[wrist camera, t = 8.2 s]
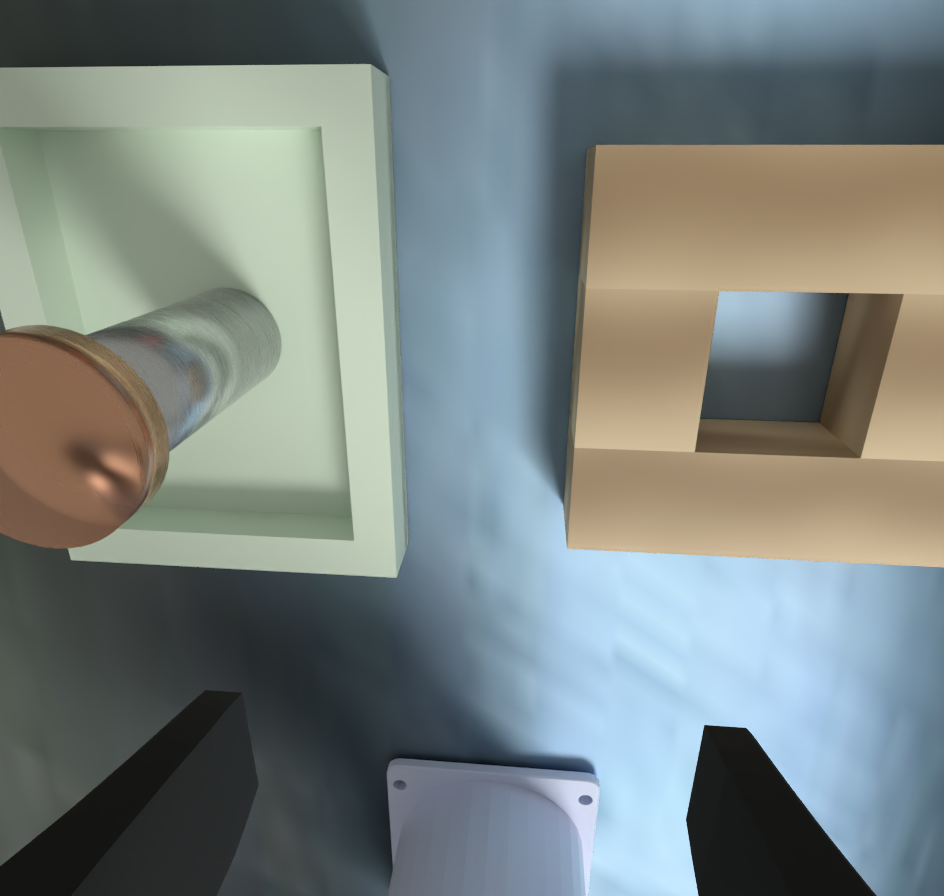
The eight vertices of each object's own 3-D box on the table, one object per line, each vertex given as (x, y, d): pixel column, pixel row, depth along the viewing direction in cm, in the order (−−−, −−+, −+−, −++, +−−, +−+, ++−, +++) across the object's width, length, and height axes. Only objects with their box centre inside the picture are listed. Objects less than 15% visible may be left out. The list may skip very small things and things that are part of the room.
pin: (305, 404, 19) (158, 553, 11) (179, 400, 19) (-44, 543, 12) (291, 269, 17) (110, 341, 10) (154, 267, 17) (-119, 336, 10)
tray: (408, 542, 21) (396, 577, 19) (110, 527, 22) (71, 560, 20) (389, 77, 16) (370, 64, 14) (-2, 80, 16) (-69, 68, 15)
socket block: (902, 520, 19) (953, 567, 17) (563, 505, 20) (567, 548, 18) (1015, 149, 15) (1101, 144, 13) (587, 149, 16) (596, 145, 14)
